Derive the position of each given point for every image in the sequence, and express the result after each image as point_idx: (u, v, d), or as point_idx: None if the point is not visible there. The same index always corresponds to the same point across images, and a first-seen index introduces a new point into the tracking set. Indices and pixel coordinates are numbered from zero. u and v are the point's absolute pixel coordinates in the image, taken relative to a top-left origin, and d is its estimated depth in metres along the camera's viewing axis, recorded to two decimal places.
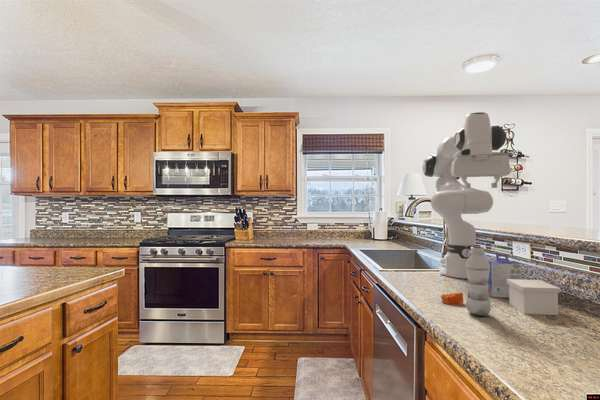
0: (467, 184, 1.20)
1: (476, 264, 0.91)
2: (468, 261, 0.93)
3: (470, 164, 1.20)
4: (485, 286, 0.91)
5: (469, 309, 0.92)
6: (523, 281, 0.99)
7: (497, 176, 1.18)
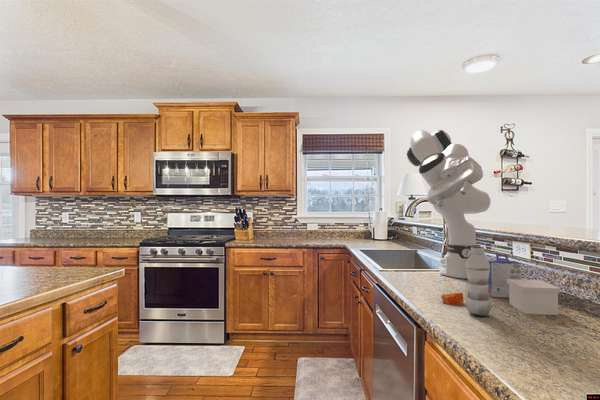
0: None
1: (476, 264, 0.91)
2: (468, 261, 0.93)
3: None
4: (485, 286, 0.91)
5: (469, 309, 0.92)
6: (523, 281, 0.99)
7: None
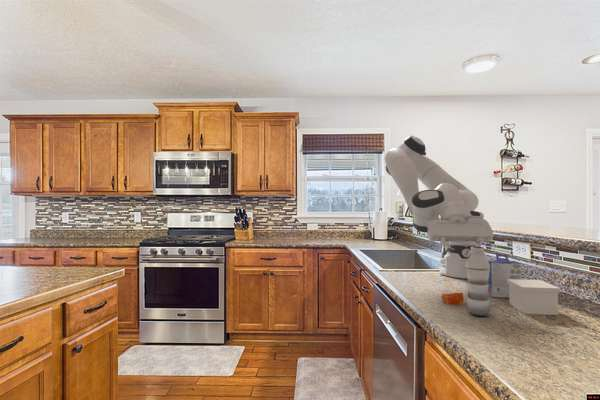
0: None
1: (476, 264, 0.91)
2: (468, 261, 0.93)
3: None
4: (485, 286, 0.91)
5: (469, 309, 0.92)
6: (523, 281, 0.99)
7: None
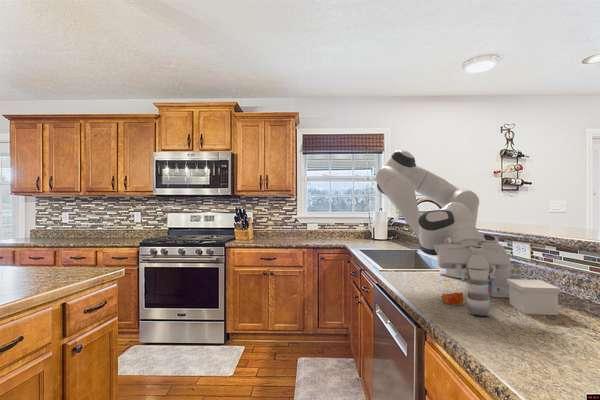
0: None
1: (475, 264, 0.91)
2: (468, 261, 0.93)
3: None
4: (485, 286, 0.91)
5: (469, 309, 0.92)
6: (523, 281, 0.99)
7: None
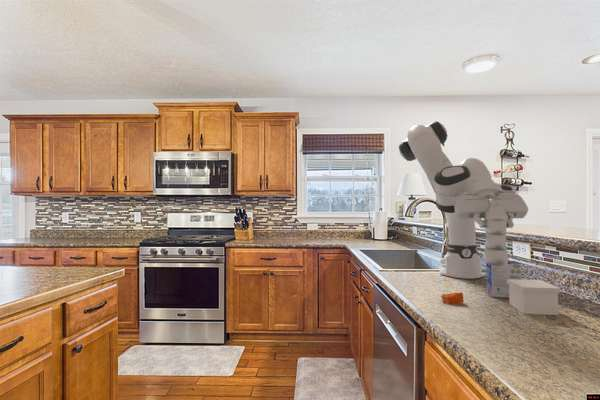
0: None
1: (493, 215, 0.92)
2: (486, 213, 0.95)
3: None
4: (502, 236, 0.92)
5: (486, 259, 0.94)
6: (523, 281, 0.99)
7: None
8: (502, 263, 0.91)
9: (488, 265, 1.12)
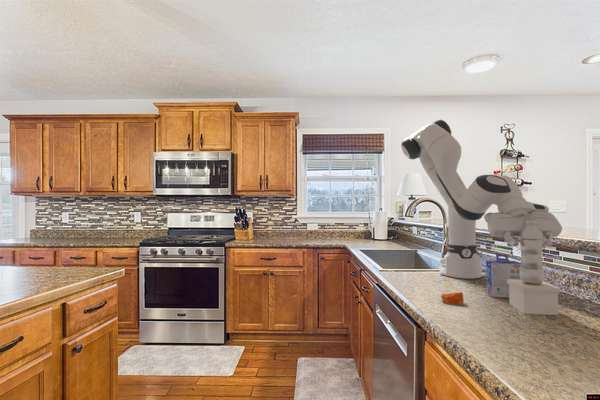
0: None
1: (529, 235, 0.95)
2: (521, 232, 0.97)
3: None
4: (539, 255, 0.94)
5: (522, 278, 0.96)
6: None
7: None
8: (539, 281, 0.94)
9: (488, 265, 1.12)
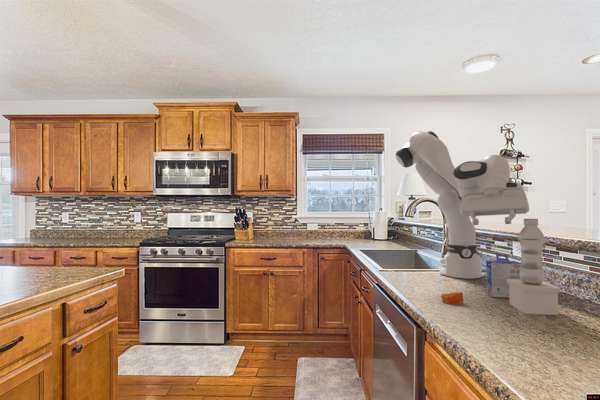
0: None
1: (529, 235, 0.95)
2: (521, 232, 0.97)
3: None
4: (539, 255, 0.94)
5: (522, 278, 0.96)
6: None
7: None
8: (539, 281, 0.94)
9: (488, 265, 1.12)
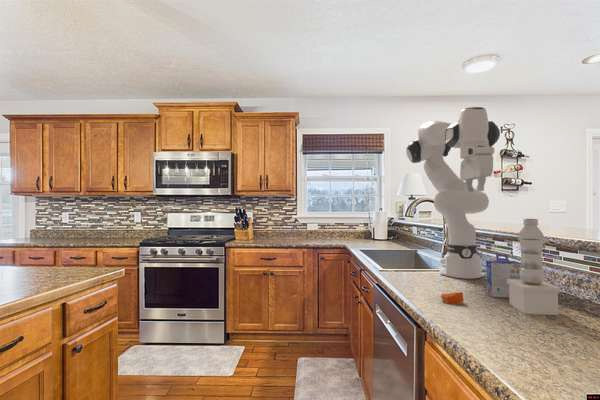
0: None
1: (529, 235, 0.95)
2: (521, 232, 0.97)
3: None
4: (539, 255, 0.94)
5: (522, 278, 0.96)
6: None
7: None
8: (539, 281, 0.94)
9: (488, 265, 1.12)
